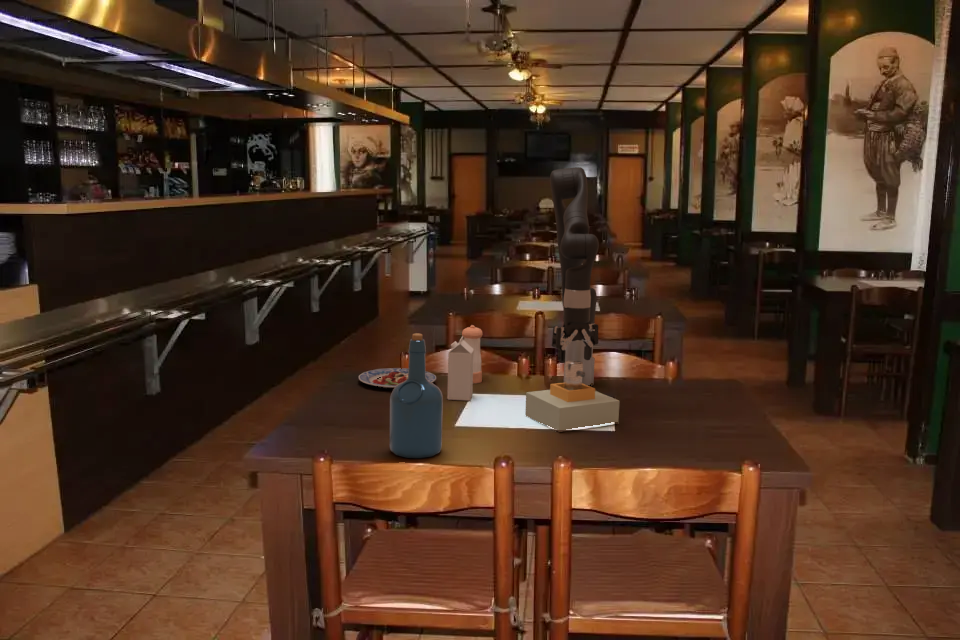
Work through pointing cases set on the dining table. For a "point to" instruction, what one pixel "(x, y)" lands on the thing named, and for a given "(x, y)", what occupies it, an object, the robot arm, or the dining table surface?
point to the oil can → (573, 375)
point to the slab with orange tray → (571, 407)
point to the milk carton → (460, 371)
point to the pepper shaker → (473, 339)
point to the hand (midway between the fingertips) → (574, 361)
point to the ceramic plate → (389, 377)
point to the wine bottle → (416, 409)
